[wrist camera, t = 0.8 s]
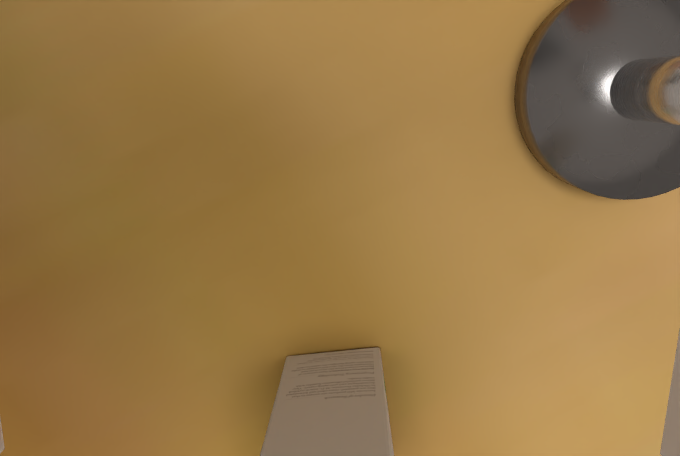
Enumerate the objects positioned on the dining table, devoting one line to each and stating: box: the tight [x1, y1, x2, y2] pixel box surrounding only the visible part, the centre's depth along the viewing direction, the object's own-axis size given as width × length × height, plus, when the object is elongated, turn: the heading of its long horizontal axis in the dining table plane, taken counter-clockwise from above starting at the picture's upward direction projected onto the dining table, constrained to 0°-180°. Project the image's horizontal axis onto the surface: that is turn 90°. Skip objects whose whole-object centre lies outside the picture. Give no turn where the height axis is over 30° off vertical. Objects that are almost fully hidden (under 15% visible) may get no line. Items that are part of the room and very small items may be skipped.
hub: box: [515, 0, 680, 200], centre depth 29 cm, size 12×12×10 cm
